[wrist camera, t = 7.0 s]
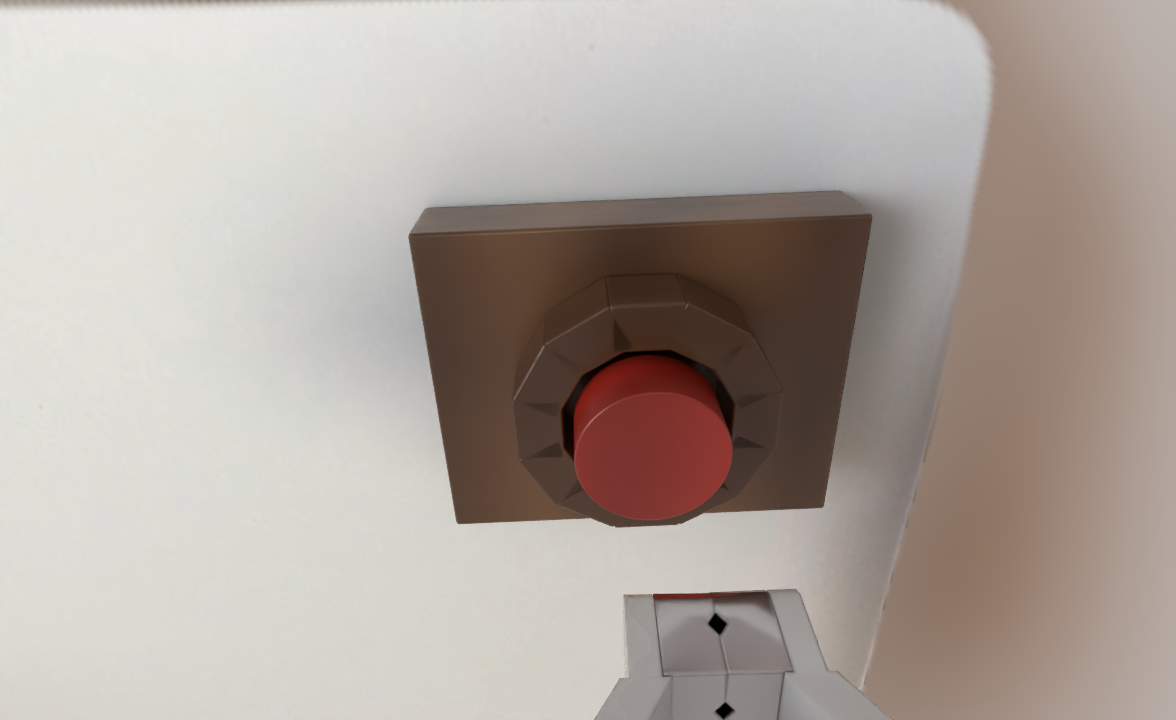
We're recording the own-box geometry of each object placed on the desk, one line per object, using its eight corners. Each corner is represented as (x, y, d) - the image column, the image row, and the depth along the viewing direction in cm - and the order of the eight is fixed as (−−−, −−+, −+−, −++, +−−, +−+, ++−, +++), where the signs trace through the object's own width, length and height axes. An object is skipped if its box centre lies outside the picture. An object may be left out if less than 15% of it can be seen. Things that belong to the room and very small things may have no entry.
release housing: (841, 189, 18) (907, 239, 15) (802, 464, 22) (845, 552, 19) (423, 207, 18) (389, 261, 15) (465, 478, 22) (446, 570, 19)
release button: (722, 350, 16) (739, 389, 15) (714, 472, 18) (728, 517, 16) (570, 357, 16) (570, 396, 15) (576, 478, 18) (577, 524, 16)
